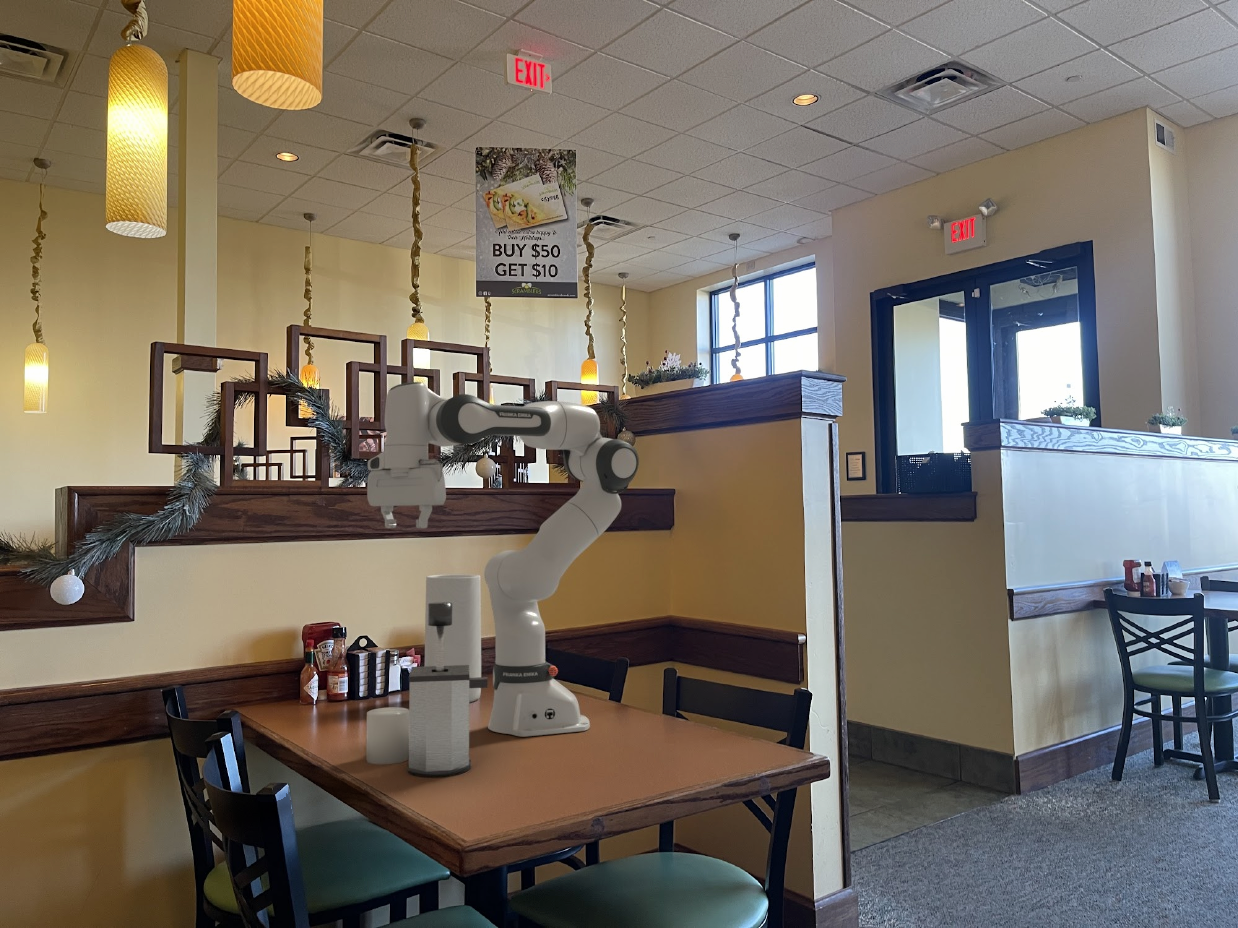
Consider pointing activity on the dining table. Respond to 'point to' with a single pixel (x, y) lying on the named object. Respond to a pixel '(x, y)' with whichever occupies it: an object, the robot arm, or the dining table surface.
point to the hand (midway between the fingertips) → (405, 528)
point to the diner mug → (387, 735)
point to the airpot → (440, 720)
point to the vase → (457, 623)
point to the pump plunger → (440, 627)
